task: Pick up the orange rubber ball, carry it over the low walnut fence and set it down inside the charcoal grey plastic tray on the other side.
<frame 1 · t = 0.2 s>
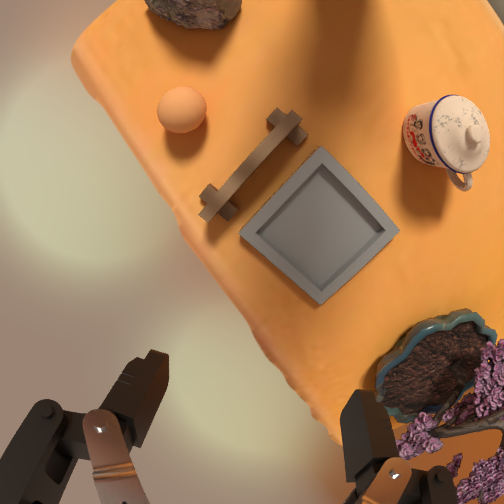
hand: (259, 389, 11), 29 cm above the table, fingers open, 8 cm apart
fence: (252, 164, 35), on the table
mineral rock: (196, 6, 28), on the table
teacup with lid: (431, 144, 31), on the table
tray: (320, 226, 37), on the table
bonsai tree: (442, 350, 43), on the table
ball: (181, 109, 31), point 3 cm above the table
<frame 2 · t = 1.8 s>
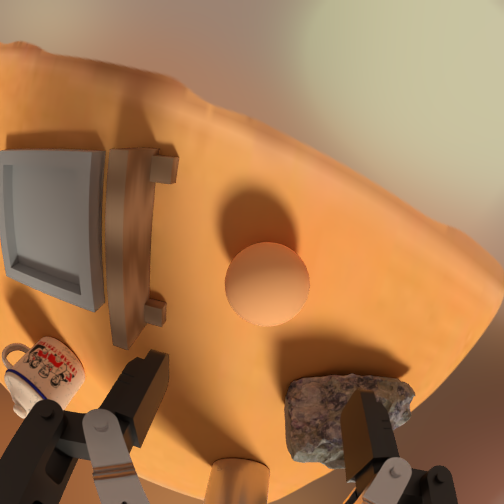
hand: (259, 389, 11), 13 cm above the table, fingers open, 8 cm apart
fence: (143, 241, 24), on the table
mineral rock: (343, 391, 28), on the table
teacup with lid: (55, 353, 31), on the table
tray: (48, 220, 24), on the table
ball: (267, 284, 20), point 3 cm above the table
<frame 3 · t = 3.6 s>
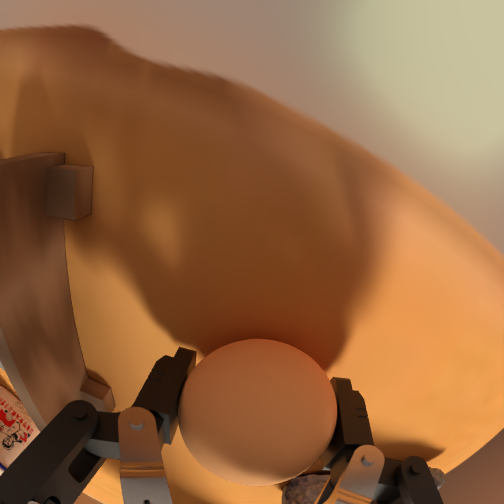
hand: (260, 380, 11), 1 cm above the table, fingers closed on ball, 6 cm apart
fence: (62, 305, 13), on the table
mineral rock: (358, 478, 17), on the table
teacup with lid: (12, 401, 21), on the table
ball: (257, 413, 10), point 3 cm above the table, touching gripper
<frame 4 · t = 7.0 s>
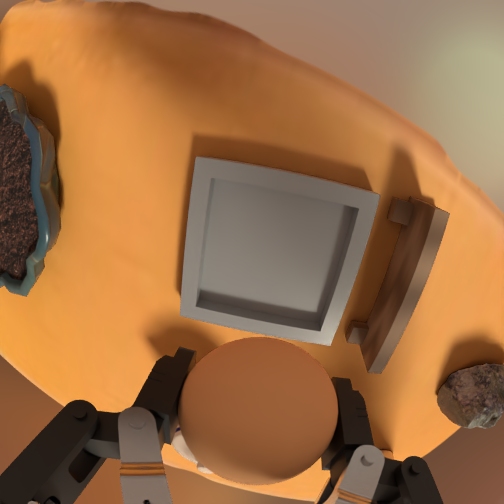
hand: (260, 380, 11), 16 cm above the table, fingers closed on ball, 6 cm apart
fence: (391, 277, 26), on the table
mineral rock: (471, 378, 30), on the table
teacup with lid: (214, 389, 34), on the table
tray: (272, 253, 26), on the table
bonsai tree: (11, 208, 28), on the table
ball: (258, 412, 10), point 17 cm above the table, touching gripper
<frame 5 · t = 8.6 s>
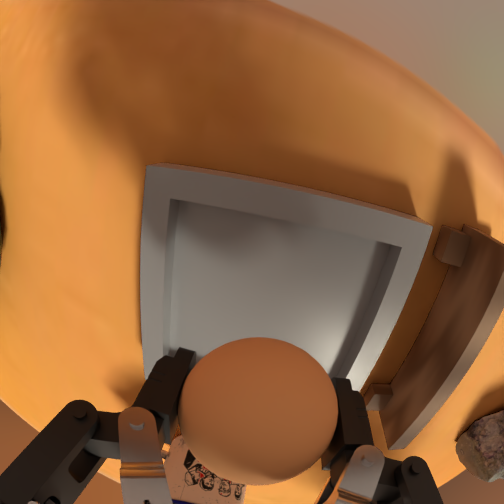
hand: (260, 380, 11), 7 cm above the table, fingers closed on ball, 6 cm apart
fence: (428, 331, 17), on the table
mineral rock: (493, 420, 22), on the table
teacup with lid: (199, 446, 25), on the table
tray: (267, 305, 18), on the table
ball: (257, 412, 10), point 8 cm above the table, touching gripper
when the fingers open (4 cm above the table, at t = 10.2 s): ball drops 2 cm, resting on tray.
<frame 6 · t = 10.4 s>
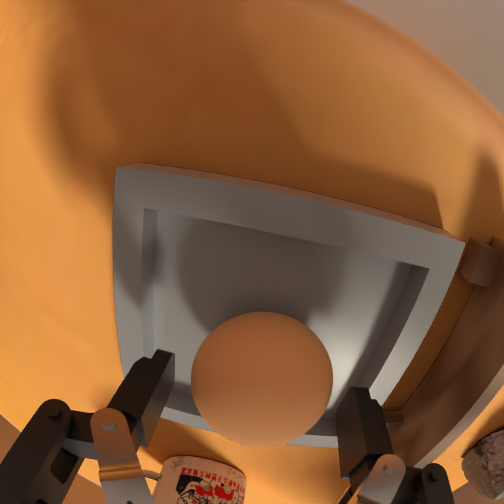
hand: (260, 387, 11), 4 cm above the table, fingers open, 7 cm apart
fence: (446, 355, 14), on the table
mineral rock: (500, 435, 19), on the table
teacup with lid: (192, 466, 22), on the table
tray: (266, 332, 15), on the table
ball: (262, 380, 11), point 4 cm above the table, touching tray
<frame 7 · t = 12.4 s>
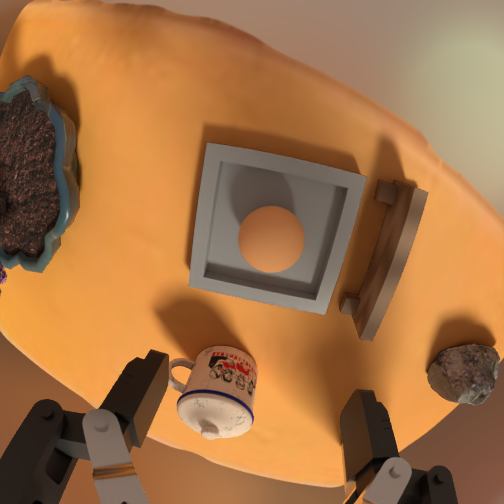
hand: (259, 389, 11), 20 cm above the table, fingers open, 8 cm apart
fence: (380, 252, 29), on the table
mineral rock: (460, 359, 34), on the table
teacup with lid: (217, 362, 37), on the table
tray: (272, 228, 29), on the table
bonsai tree: (28, 192, 31), on the table
ball: (271, 239, 26), point 4 cm above the table, touching tray
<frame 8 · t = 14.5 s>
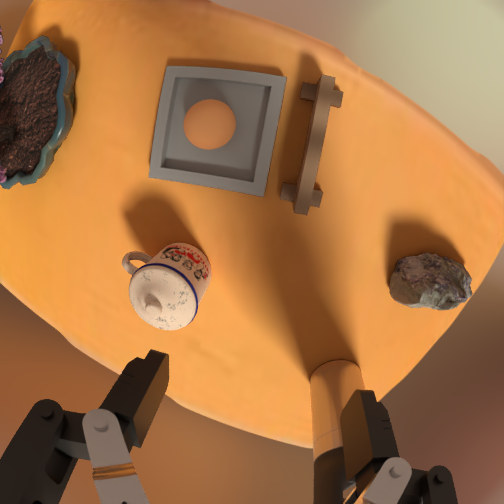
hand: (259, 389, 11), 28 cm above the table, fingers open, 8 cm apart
fence: (311, 144, 33), on the table
mineral rock: (425, 276, 38), on the table
teacup with lid: (175, 263, 41), on the table
tray: (216, 127, 34), on the table
bonsai tree: (32, 128, 35), on the table
ball: (209, 124, 30), point 4 cm above the table, touching tray
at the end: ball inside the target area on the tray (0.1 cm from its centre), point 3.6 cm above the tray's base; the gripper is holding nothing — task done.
